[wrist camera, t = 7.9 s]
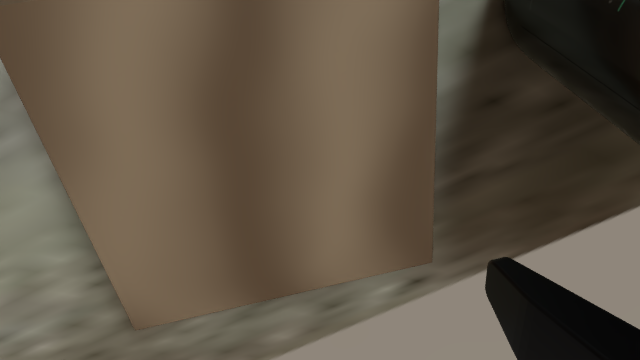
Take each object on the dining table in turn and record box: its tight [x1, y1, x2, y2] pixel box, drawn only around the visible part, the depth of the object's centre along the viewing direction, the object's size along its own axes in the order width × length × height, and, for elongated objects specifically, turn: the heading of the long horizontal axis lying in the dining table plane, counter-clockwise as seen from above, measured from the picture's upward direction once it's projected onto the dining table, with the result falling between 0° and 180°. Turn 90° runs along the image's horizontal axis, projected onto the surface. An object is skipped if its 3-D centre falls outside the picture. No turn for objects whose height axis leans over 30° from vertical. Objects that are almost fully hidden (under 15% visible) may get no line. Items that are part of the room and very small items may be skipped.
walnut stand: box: [0, 0, 439, 330], centre depth 17 cm, size 12×12×3 cm
